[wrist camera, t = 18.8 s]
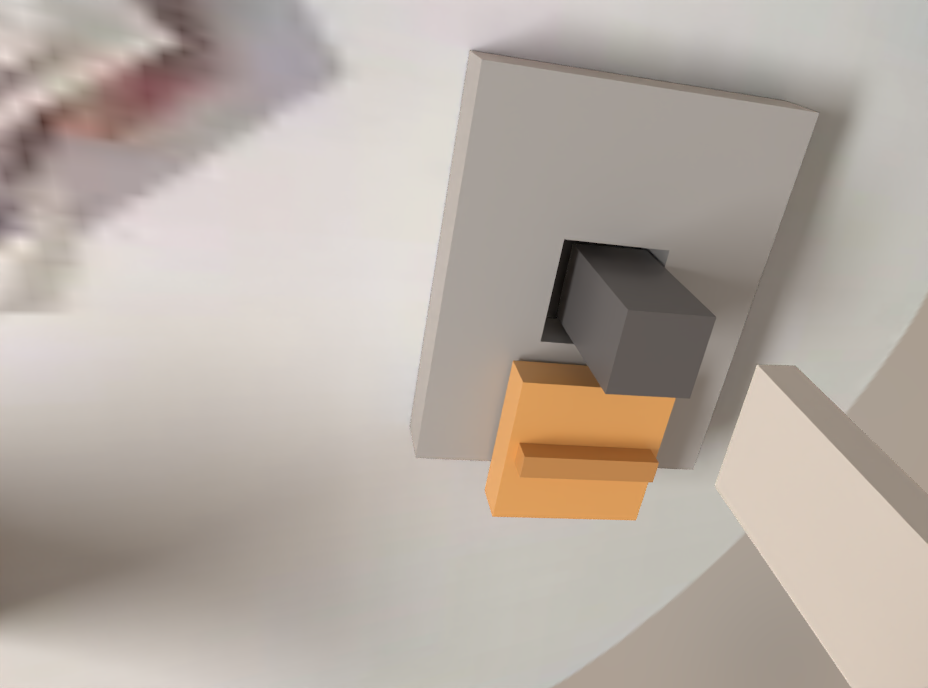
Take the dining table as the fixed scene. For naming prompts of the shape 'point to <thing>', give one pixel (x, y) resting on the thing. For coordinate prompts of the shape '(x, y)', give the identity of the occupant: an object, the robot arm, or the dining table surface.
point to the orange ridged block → (572, 446)
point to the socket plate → (592, 227)
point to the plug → (633, 322)
